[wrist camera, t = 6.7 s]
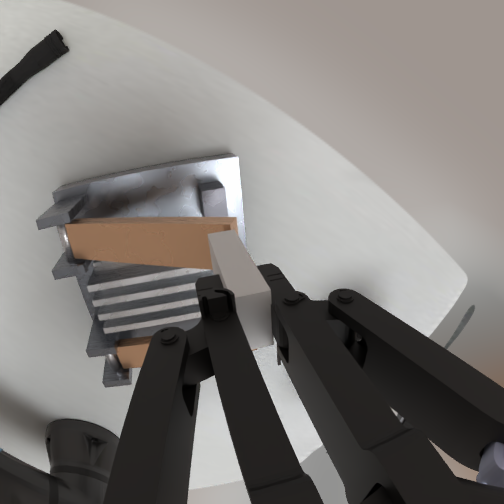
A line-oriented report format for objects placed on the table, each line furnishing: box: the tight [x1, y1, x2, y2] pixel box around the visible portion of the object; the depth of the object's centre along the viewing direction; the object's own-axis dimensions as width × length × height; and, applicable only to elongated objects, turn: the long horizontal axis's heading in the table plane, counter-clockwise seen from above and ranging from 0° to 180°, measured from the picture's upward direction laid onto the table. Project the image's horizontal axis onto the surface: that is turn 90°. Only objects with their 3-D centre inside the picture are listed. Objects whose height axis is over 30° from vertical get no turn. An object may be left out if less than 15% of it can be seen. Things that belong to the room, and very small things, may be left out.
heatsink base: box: [36, 154, 247, 387], centre depth 29 cm, size 18×20×9 cm
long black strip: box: [0, 30, 69, 105], centre depth 20 cm, size 3×16×3 cm, turn 117°
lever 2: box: [117, 336, 257, 369], centre depth 29 cm, size 14×3×1 cm, turn 94°
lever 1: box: [65, 217, 239, 270], centre depth 21 cm, size 14×3×1 cm, turn 95°
